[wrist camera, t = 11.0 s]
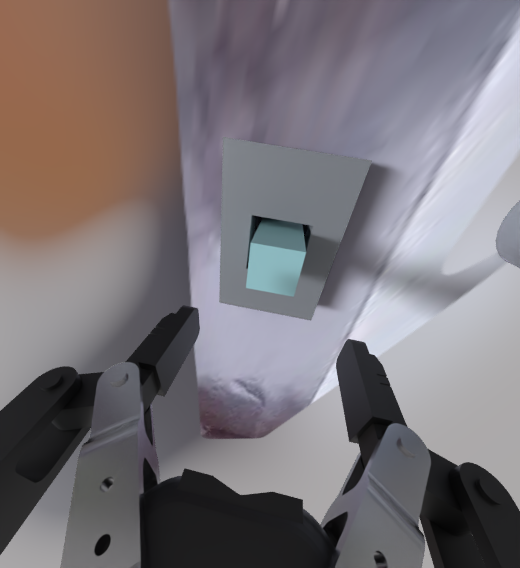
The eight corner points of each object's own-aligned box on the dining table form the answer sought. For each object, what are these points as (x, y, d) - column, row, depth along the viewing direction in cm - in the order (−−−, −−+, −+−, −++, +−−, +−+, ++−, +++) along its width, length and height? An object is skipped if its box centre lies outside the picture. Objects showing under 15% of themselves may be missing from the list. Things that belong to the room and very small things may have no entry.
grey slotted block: (234, 139, 18) (222, 137, 15) (358, 159, 17) (372, 160, 14) (227, 286, 27) (219, 302, 24) (309, 301, 26) (310, 320, 23)
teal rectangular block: (302, 220, 21) (306, 252, 14) (293, 255, 23) (293, 296, 16) (264, 214, 21) (250, 242, 14) (259, 249, 23) (245, 287, 16)
